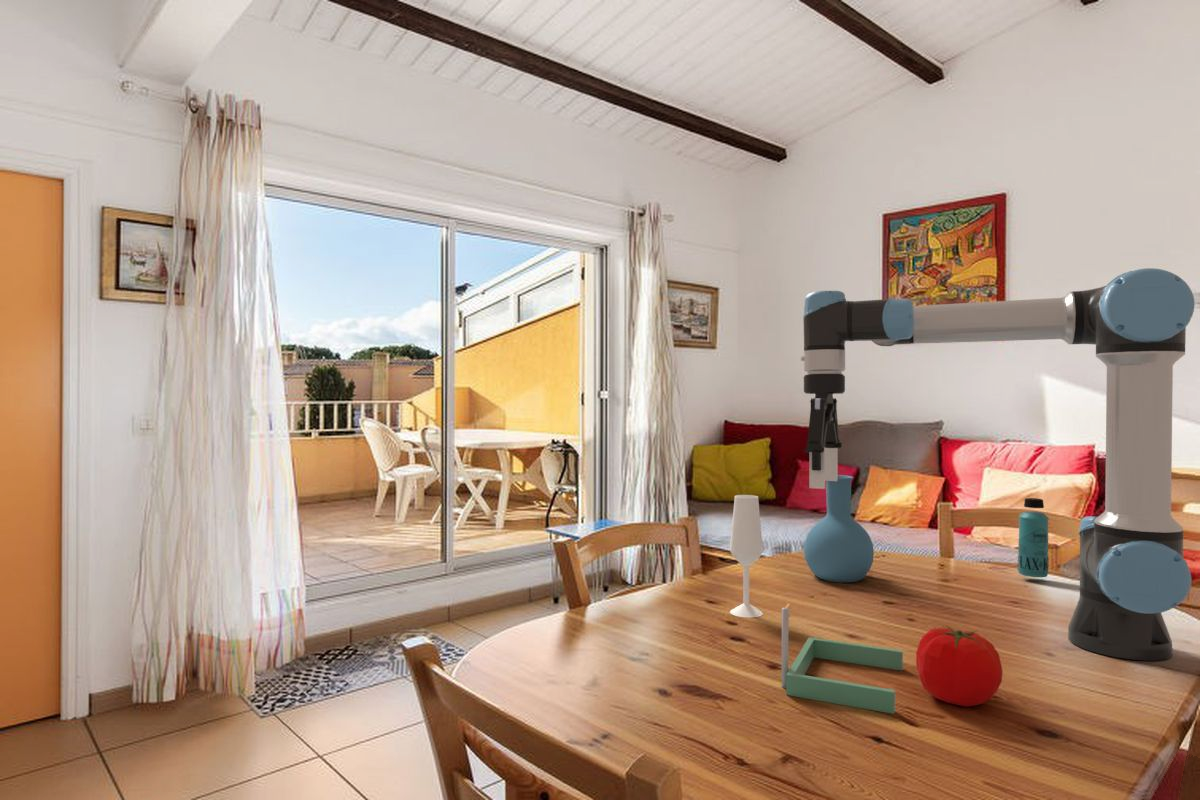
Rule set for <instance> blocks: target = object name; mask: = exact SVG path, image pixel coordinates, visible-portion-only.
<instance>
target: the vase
mask: <svg viewBox="0 0 1200 800" xmlns="http://www.w3.org/2000/svg"><path fill="white" fill-rule="evenodd" d="M853 479H854V476H850V475H843V474H842V475H841V474H839V475H838V481H826V483H825V491H826V495H825V496H826V515H825V516H824V517H823V518H822V519H821V520H819V521H817V523H815V524H814V525H813V526H812V527H811V529H810V530H809V532H808V533H807V535H806V538H805V541H804V543H803V544H804V545H803V554H804V560H805V562H806V565H807V566H808V568H809V570H810V571H811V573H813V574H814V575H815V576H816V577H817V578H818V579H821V580H824V581H827V582H833V583H841V584H842V583H844V584H845V583H846V584H847V583H849V584H850V583H856V582H859V581H861V580H862V579H863V578H865V577H867V574H868V573H869V572H870V570H871V568H872V565H873V564H874V563H873V562H874V554H875V553H874V544H873V542H872V539H871V536H870V534H869V533H868V532H867V530H866V529H865V527H863V526H862V525H861V524H860V523H858V521H856V520H855V519H854V517H852V513H851V508H852V507H851V506H852V481H853Z"/></svg>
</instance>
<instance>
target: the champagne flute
mask: <svg viewBox="0 0 1200 800" xmlns="http://www.w3.org/2000/svg"><path fill="white" fill-rule="evenodd" d="M733 500H734V501H733V502H734V503H733V512H732V523H731V532H730V534H731V535H730V543H729V551H730V553H731V555H732V557H733V558H734V559H735V560H736V561H737V563H739V564H740V565H741V566H743V567H742V570H743V573H742V574H743V582H742V583H743V588H742V589H743V591H742V592H743V595H742V596H743V597H742V598H743V601H742V602H743V603H741V604H740V605H738V606H736V607H733V608H732V609H731V610H729V613H730V614H731V615H733V616H735V617H740V618H750V619H751V618H752V619H753V618H758V617H762V616H763V614H764V613H763V611H761V610H760V609H758V608H757V607H755V606H754V605H752V604H751V603H750V566H752V565H753V564H755V563H756V562H757V560H759V558H760V557H761V556H762V554H763V552H764V548H763V547H764V546H763V536H762V527H761V526H762V524H761V515H760V503H759V502H760V501H759V496H758V495H753V494H737V495H734V499H733Z"/></svg>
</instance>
